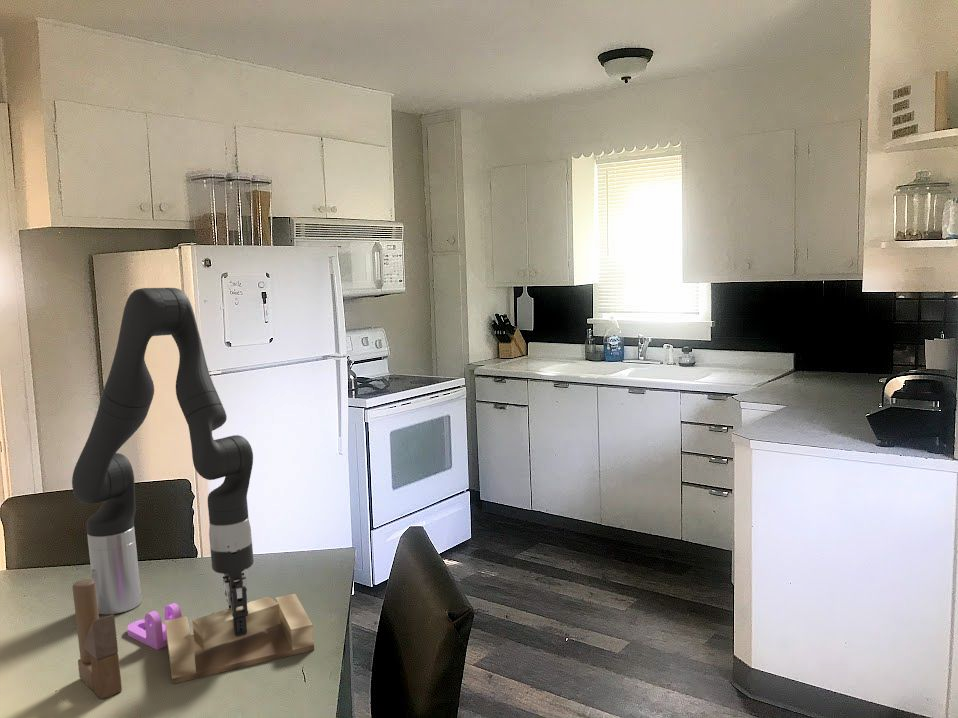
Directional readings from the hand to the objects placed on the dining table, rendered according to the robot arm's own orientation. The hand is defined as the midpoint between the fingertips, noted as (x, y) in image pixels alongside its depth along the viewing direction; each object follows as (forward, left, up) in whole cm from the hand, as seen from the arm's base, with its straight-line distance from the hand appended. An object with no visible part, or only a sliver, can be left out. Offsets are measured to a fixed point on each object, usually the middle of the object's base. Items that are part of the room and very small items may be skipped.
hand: (238, 627), depth 151 cm
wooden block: (-24, -2, -4) cm, 25 cm away
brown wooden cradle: (0, 0, -4) cm, 4 cm away
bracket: (-15, +14, -4) cm, 21 cm away
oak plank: (0, 0, -1) cm, 1 cm away
